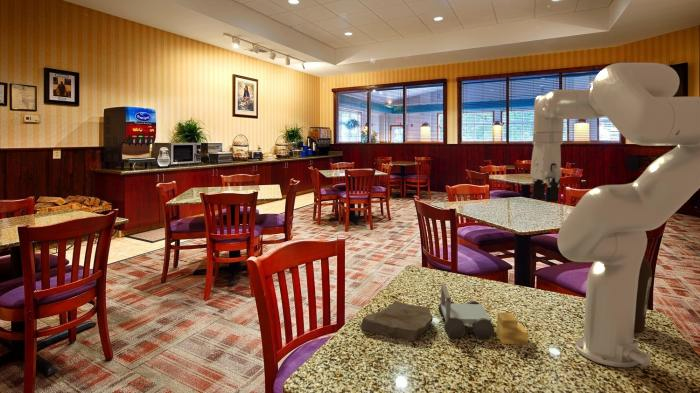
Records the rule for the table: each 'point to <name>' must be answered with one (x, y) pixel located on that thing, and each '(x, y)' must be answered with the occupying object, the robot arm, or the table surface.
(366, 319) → the marble piece
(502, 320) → the orange block
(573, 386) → the table surface
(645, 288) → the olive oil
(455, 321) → the trolley
